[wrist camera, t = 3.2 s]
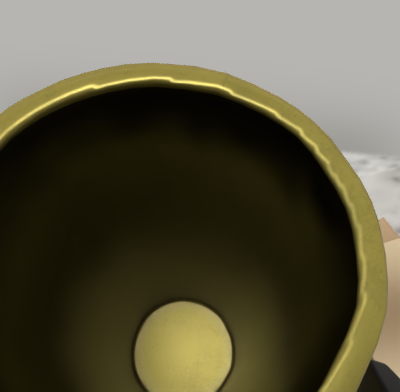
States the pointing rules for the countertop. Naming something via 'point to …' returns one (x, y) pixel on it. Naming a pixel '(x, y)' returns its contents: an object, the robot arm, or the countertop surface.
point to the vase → (181, 240)
